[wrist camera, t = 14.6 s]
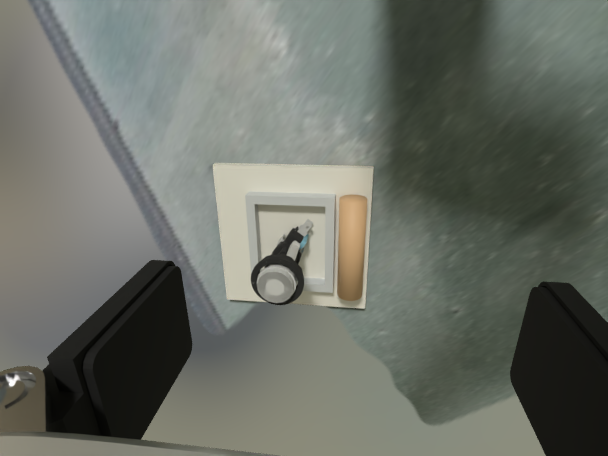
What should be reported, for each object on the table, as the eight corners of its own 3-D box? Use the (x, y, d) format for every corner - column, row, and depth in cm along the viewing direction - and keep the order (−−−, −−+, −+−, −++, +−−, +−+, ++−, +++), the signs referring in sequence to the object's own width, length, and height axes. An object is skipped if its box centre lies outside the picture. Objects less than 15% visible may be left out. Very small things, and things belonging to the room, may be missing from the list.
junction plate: (373, 166, 42) (374, 175, 38) (364, 304, 49) (365, 323, 45) (215, 162, 44) (202, 171, 41) (229, 295, 51) (219, 312, 48)
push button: (293, 205, 44) (275, 242, 35) (329, 232, 45) (321, 275, 36) (261, 245, 47) (237, 289, 38) (296, 270, 47) (281, 319, 38)
